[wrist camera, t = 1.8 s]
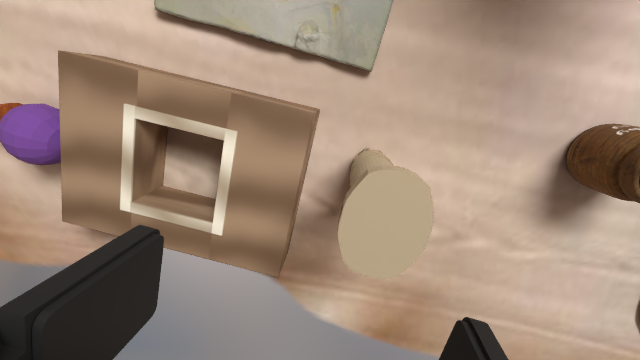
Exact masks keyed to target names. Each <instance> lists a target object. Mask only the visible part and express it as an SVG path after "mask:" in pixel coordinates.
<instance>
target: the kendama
mask: <svg viewBox="0 0 640 360" xmlns="http://www.w3.org/2000/svg"><path fill="white" fill-rule="evenodd" d="M0 142H1V143H2V145H3V146H4V148H5V149H6V150H7V152H8V153H10V154H11V155H13V156H14V157H16V158H17V159H19V160H22V161H24V162H27V163H30V164H36V165H51V164H56V163H60V162H61V147H60V110H59V109H57V108H54V107H51V106H49V105H46V104H25V105H23V104H20V103H7V104H0Z"/></svg>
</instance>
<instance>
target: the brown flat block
mask: <svg viewBox="0 0 640 360" xmlns="http://www.w3.org/2000/svg"><path fill="white" fill-rule="evenodd" d="M58 67H59V107H60V147H61V186H62V221H63V222H67V223H71V224H75V225H79V226H82V227H86V228H90V229H94V230H98V231H102V232H105V233H109V234H113V235H117V236H121V235H122V234H124V233H126V232H127V231H129V230H131V229H132V228H134V227H136V226H138V225H144V226H148V227H151V228H155V229H158V230H159V231H160V235H162V236H163V237H164V246H163V248H167V249H171V250H175V251H179V252H183V253H187V254H190V255H194V256H198V257H202V258H205V259H209V260H213V261H217V262H221V263H225V264H229V265H233V266H236V267H240V268H244V269H248V270H252V271H255V272H259V273H263V274H267V275H271V276H275V277H278V276H279V273H280V271H281V268H282V266H283V263H284V261H285V258H286V255H287V253H288V249H289V245H290V241H291V236H292V232H293V227H294V223H295V218H296V214H297V210H298V205H299V201H300V196H301V192H302V187H303V183H304V179H305V174H306V170H307V165H308V161H309V156H310V152H311V148H312V143H313V139H314V134H315V130H316V125H317V121H318V117H319V112H320V109H317V108H312V107H308V106H304V105H300V104H296V103H292V102H288V101H284V100H280V99H276V98H272V97H267V96H263V95H259V94H255V93H251V92H247V91H243V90H239V89H235V88H231V87H227V86H222V85H218V84H214V83H210V82H206V81H202V80H198V79H194V78H190V77H186V76H182V75H178V74H173V73H169V72H165V71H161V70H157V69H153V68H149V67H145V66H141V65H137V64H133V63H128V62H124V61H120V60H116V59H112V58H108V57H104V56H96V55H89V54H81V53H73V52H66V51H58ZM167 127H172V128H176V129H180V130H184V131H188V132H192V133H196V134H200V135H204V136H208V137H212V138H216V139H220V140H224V145H223V152H222V159H221V166H220V174H219V181H218V188H217V196H216V199H212V198H208V197H204V196H200V195H196V194H192V193H189V192H185V191H181V190H177V189H173V188H169V187H165V186H163V177H164V165H165V152H166V140H167Z"/></svg>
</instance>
